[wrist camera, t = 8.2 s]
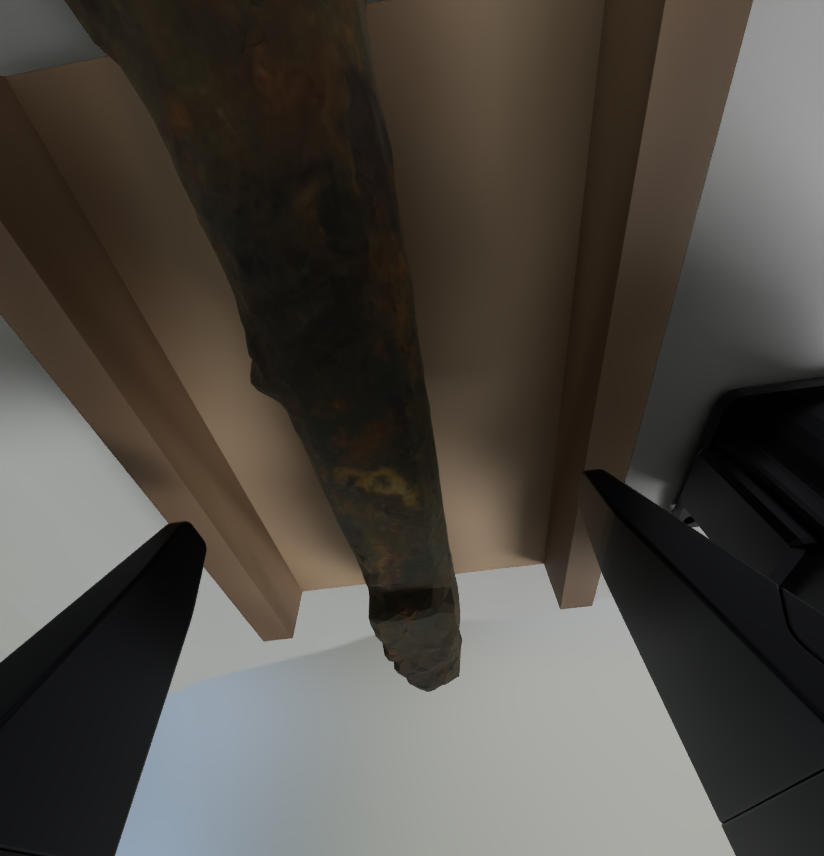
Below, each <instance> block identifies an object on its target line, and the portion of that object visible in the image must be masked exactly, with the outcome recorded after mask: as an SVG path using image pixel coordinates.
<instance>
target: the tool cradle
mask: <svg viewBox="0 0 824 856" xmlns="http://www.w3.org/2000/svg"><path fill="white" fill-rule="evenodd" d="M752 3H753V0H384V1H379V2H374V3H369V4H366V17H367V25H368V33H369V40H370V47H371V53H372V60H373V65H374V71H375V76H376V82H377V87H378V92H379V98H380V102H381V106H382V110H383V114H384V118H385V122H386V126H387V130H388V134H389V139H390V143H391V147H392V152H393V160H394V168H395V186H396V192H397V199H398V205H399V212H400V218H401V223H402V229H403V234H404V246H405V252H406V255H407V259H408V264H409V269H410V273H411V278H412V283H413V290H414V303H415V318H416V325H417V327H418V339H419V345H420V351H421V356H422V361H423V366H424V379H425V385H426V390H427V395H428V399H429V404H430V414H431V422H432V427H433V433H434V440H435V447H436V453H437V460H438V467H439V477H440V485H441V492H442V501H443V507H444V514H445V520H446V526H447V533H448V541H449V548H450V552H451V555H452V562H453V567H454V573H455V574H457V573H465V572H474V571H483V570H491V569H500V568H509V567H518V566H526V565H535V564H544V565H545V568H546V570H547V573H548V576H549V579H550V582H551V584H552V587H553V590H554V593H555V596H556V598H557V601H558V604H559V607H560V609H567V608H576V607H585V606H592V604H593V600H594V596H595V593H596V589H597V585H598V581H599V578H600V574H601V570H600V567H599V565H598V562H597V559H596V556H595V553H594V550H593V548H592V545H591V542H590V539H589V536H588V533H587V530H586V527H585V524H584V521H583V518H582V516H581V513H580V510H579V507H578V502H577V494H578V488H579V482H580V476H581V473H582V472H583V471H585V470H593V469H603V470H605V471H607V472H608V473H610V474H611V475H613V476H614V477H616V478H617V479H619V480H620V481H622V482H623V483H625V480H626V476H627V472H628V469H629V465H630V461H631V457H632V454H633V450H634V446H635V442H636V439H637V435H638V431H639V427H640V424H641V420H642V416H643V412H644V409H645V405H646V401H647V397H648V393H649V390H650V386H651V382H652V378H653V375H654V371H655V367H656V363H657V360H658V356H659V352H660V348H661V345H662V341H663V337H664V333H665V330H666V326H667V322H668V318H669V315H670V311H671V307H672V303H673V299H674V296H675V292H676V288H677V284H678V281H679V277H680V273H681V269H682V266H683V262H684V258H685V254H686V251H687V247H688V243H689V239H690V236H691V232H692V228H693V224H694V221H695V217H696V213H697V209H698V206H699V202H700V198H701V194H702V190H703V187H704V183H705V179H706V175H707V172H708V168H709V164H710V160H711V157H712V153H713V149H714V145H715V142H716V138H717V134H718V130H719V127H720V123H721V119H722V115H723V112H724V108H725V104H726V100H727V97H728V93H729V89H730V85H731V81H732V78H733V74H734V70H735V66H736V63H737V59H738V55H739V51H740V48H741V44H742V40H743V36H744V33H745V29H746V25H747V21H748V18H749V14H750V10H751V6H752ZM0 314H1V316H2V317H3V318H4V319H5V321H6V322H7V323H8V324H9V326H10V327H11V328H12V329H13V331H14V332H15V333H16V334H17V335H18V337H19V338H20V339H21V340H22V342H23V343H24V344H25V345H26V347H27V348H28V349H29V350H30V352H31V353H32V354H33V355H34V357H35V358H36V359H37V360H38V362H39V363H40V364H41V365H42V367H43V368H44V369H45V370H46V372H47V373H48V374H49V375H50V376H51V378H52V379H53V380H54V381H55V383H56V384H57V385H58V386H59V388H60V389H61V390H62V391H63V393H64V394H65V395H66V396H67V398H68V399H69V400H70V401H71V403H72V404H73V405H74V406H75V408H76V409H77V410H78V411H79V412H80V414H81V415H82V416H83V417H84V419H85V420H86V421H87V422H88V424H89V425H90V426H91V427H92V429H93V430H94V431H95V432H96V434H97V435H98V436H99V437H100V439H101V440H102V441H103V442H104V444H105V445H106V446H107V447H108V449H109V450H110V451H111V452H112V453H113V455H114V456H115V457H116V458H117V460H118V461H119V462H120V463H121V465H122V466H123V467H124V468H125V470H126V471H127V472H128V473H129V475H130V476H131V477H132V478H133V480H134V481H135V482H136V483H137V485H138V486H139V487H140V488H141V490H142V491H143V492H144V493H145V494H146V496H147V497H148V498H149V499H150V501H151V502H152V503H153V504H154V506H155V507H156V508H157V509H158V511H159V512H160V513H161V514H162V516H163V517H164V518H165V519H166V521H167V522H168V523H173V522H180V521H188V522H190V523H191V524H192V525H193V526H194V527H195V529H196V530H197V531H198V533H199V534H200V535H201V537H202V538H203V539H204V541H205V543H206V547H207V551H206V557H205V561H204V566H203V567H204V568H205V569H206V570H207V571H208V573H209V574H210V575H211V576H212V578H213V579H214V580H215V581H216V583H217V584H218V585H219V586H220V588H221V589H222V590H223V591H224V593H225V594H226V595H227V596H228V598H229V599H230V600H231V601H232V603H233V604H234V605H235V606H236V608H237V609H238V610H239V611H240V612H241V614H242V615H243V616H244V617H245V619H246V620H247V621H248V622H249V624H250V625H251V626H252V627H253V629H254V630H255V631H256V632H257V634H258V635H259V636H260V637H261V639H262V640H263V641H270V640H279V639H288V638H293V634H294V629H295V624H296V619H297V615H298V610H299V605H300V600H301V595H302V591H308V590H317V589H326V588H334V587H343V586H352V585H361V584H366V583H365V581H364V578H363V574H362V571H361V569H360V566H359V564H358V561H357V559H356V557H355V555H354V553H353V551H352V549H351V547H350V545H349V543H348V541H347V540H346V538H345V536H344V534H343V532H342V530H341V528H340V526H339V524H338V522H337V519H336V517H335V515H334V512H333V510H332V508H331V505H330V503H329V501H328V499H327V497H326V496H325V494H324V492H323V489H322V487H321V485H320V483H319V480H318V478H317V476H316V474H315V471H314V469H313V467H312V464H311V462H310V459H309V457H308V455H307V453H306V451H305V449H304V447H303V444H302V442H301V440H300V438H299V436H298V435H297V433H296V431H295V430H294V427H293V425H292V422H291V420H290V418H289V415H288V413H287V411H286V410H285V408H284V407H283V406H282V405H281V404H280V403H279V402H277V401H276V400H274V399H272V398H271V397H269V396H267V395H265V394H263V393H261V392H259V391H258V390H257V389H256V388H255V387H254V386H253V385H252V384H251V380H250V371H251V363H252V359H251V358H250V356H249V354H248V349H247V344H246V337H245V331H244V327H243V325H242V322H241V320H240V316H239V312H238V308H237V303H236V299H235V296H234V294H233V291H232V289H231V286H230V284H229V282H228V279H227V277H226V275H225V273H224V271H223V268H222V266H221V264H220V262H219V260H218V257H217V255H216V253H215V251H214V249H213V247H212V245H211V243H210V242H209V240H208V238H207V236H206V234H205V232H204V230H203V229H202V227H201V225H200V223H199V221H198V218H197V215H196V212H195V209H194V207H193V205H192V203H191V201H190V199H189V197H188V195H187V193H186V191H185V189H184V187H183V185H182V183H181V181H180V178H179V176H178V174H177V172H176V169H175V167H174V164H173V162H172V159H171V157H170V154H169V152H168V150H167V148H166V146H165V144H164V142H163V140H162V137H161V135H160V133H159V131H158V129H157V127H156V125H155V122H154V120H153V118H152V117H151V115H150V113H149V112H148V110H147V108H146V107H145V105H144V104H143V102H142V100H141V99H140V97H139V96H138V94H137V92H136V91H135V89H134V88H133V86H132V85H131V83H130V81H129V80H128V78H127V77H126V75H125V73H124V72H123V70H122V69H121V67H120V66H119V65H118V64H117V63H116V62H115V61H114V60H113V59H112V58H110V57H109V56H105V57H100V58H95V59H90V60H85V61H81V62H76V63H71V64H66V65H61V66H56V67H51V68H46V69H41V70H36V71H31V72H26V73H21V74H16V75H11V76H6V77H4V76H0Z"/></svg>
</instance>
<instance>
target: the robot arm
mask: <svg viewBox="0 0 824 856" xmlns="http://www.w3.org/2000/svg"><path fill="white" fill-rule="evenodd" d="M577 502H578V507H579V510H580V513H581V516H582V518H583V521H584V524H585V527H586V530H587V533H588V536H589V539H590V542H591V545H592V548H593V550H594V553H595V556H596V559H597V562H598V565H599V567H600V570H601V572H602V574H603V577H604V579H605V581H606V583H607V585H608V587H609V590H610V592H611V594H612V596H613V598H614V600H615V602H616V604H617V606H618V608H619V611H620V613H621V615H622V617H623V619H624V621H625V623H626V625H627V627H628V629H629V631H630V634H631V636H632V638H633V640H634V642H635V644H636V646H637V648H638V650H639V652H640V655H641V657H642V659H643V661H644V663H645V665H646V667H647V669H648V671H649V674H650V676H651V678H652V680H653V682H654V684H655V686H656V688H657V690H658V692H659V695H660V696H661V699H662V701H663V703H664V705H665V707H666V709H667V711H668V714H669V715H670V717H671V719H672V722H673V724H674V726H675V728H676V730H677V732H678V734H679V737H680V739H681V741H682V743H683V745H684V747H685V749H686V751H687V753H688V756H689V758H690V760H691V762H692V764H693V766H694V768H695V770H696V772H697V774H698V777H699V779H700V780H701V783H702V785H703V787H704V789H705V791H706V793H707V795H708V797H709V800H710V801H711V804H712V806H713V808H714V810H715V812H716V814H717V816H718V818H719V820H720V822H721V823H722V828H723V829H724V832H725V834H726V836H727V838H728V840H729V842H730V844H731V846H732V848H733V851H734V853H735V855H736V856H824V377H823V378H816V379H808V380H801V381H794V382H786V383H779V384H772V385H764V386H757V387H749V388H742V389H736V390H732V391H729V392H727V393H726V394H724V395H723V396H721V397H720V398H719V399H718V401H717V402H716V404H715V406H714V409H713V411H712V414H711V416H710V419H709V421H708V424H707V427H706V429H705V432H704V434H703V437H702V439H701V442H700V444H699V447H698V449H697V452H696V454H695V457H694V459H693V462H692V464H691V467H690V469H689V472H688V474H687V477H686V479H685V482H684V485H683V487H682V490H681V492H680V495H679V497H678V500H677V502H676V505H675V507H674V510H673V512H672V514H670V513H669V512H667V511H666V510H664V509H663V508H661V507H660V506H658V505H657V504H655V503H654V502H652V501H651V500H649V499H648V498H646V497H644V496H643V495H641V494H640V493H638V492H637V491H635V490H634V489H632V488H631V487H629V486H628V485H626V484H625V483H623V482H622V481H620V480H619V479H617V478H616V477H614V476H613V475H611V474H610V473H608V472H607V471H605V470H603V469H593V470H585V471H583V472H582V473H581V476H580V482H579V488H578V494H577ZM698 526H700V528H701V529H702V530H703V531H704V533H705V534H706V535H707V536H708V538H709V539H708V538H707V537H705V536H704V535H702V534H701V533H699V532H698V531H696V530H695V529H693V528H692V527H698ZM206 551H207V547H206V543H205V541H204V539H203V538H202V537H201V535H200V534H199V533H198V531H197V530H196V529H195V527H194V526H193V525H192V524H191V523H190V522H188V521H180V522H173V523H169V524H168V525H166V526H165V527H164V528H162V529H161V530H160V531H159V532H158V533H156V534H155V535H154V536H153V537H152V538H150V539H149V540H148V541H147V542H146V543H144V544H143V545H142V546H141V547H140V548H138V549H137V550H136V551H135V552H133V553H132V554H131V555H130V556H129V557H127V558H126V559H125V560H124V561H123V562H121V563H120V564H119V565H118V566H117V567H115V568H114V569H113V570H112V571H111V572H109V573H108V574H107V575H106V576H104V577H103V578H102V579H101V580H100V581H98V582H97V583H96V584H95V585H94V586H92V587H91V588H90V589H89V590H88V591H86V592H85V593H84V594H83V595H82V596H80V597H79V598H78V599H77V600H75V601H74V602H73V603H72V604H71V605H69V606H68V607H67V608H66V609H65V610H63V611H62V612H61V613H60V614H59V615H57V616H56V617H55V618H54V619H53V620H51V621H50V622H49V623H48V624H46V625H45V626H44V627H43V628H42V629H40V630H39V631H38V632H37V633H36V634H34V635H33V636H32V637H31V638H30V639H28V640H27V641H26V642H25V643H24V644H22V645H21V646H20V647H19V648H17V649H16V650H15V651H14V652H13V653H11V654H10V655H9V656H8V657H7V658H5V659H4V660H3V661H2V662H1V663H0V856H115V854H116V850H117V847H118V844H119V841H120V838H121V835H122V832H123V829H124V826H125V823H126V820H127V817H128V813H129V810H130V807H131V804H132V801H133V798H134V795H135V792H136V789H137V785H138V782H139V780H140V776H141V773H142V770H143V767H144V764H145V761H146V758H147V755H148V752H149V749H150V746H151V742H152V739H153V736H154V733H155V730H156V727H157V724H158V721H159V718H160V715H161V711H162V709H163V705H164V702H165V699H166V696H167V693H168V690H169V687H170V684H171V681H172V678H173V675H174V672H175V668H176V665H177V662H178V659H179V656H180V653H181V650H182V647H183V644H184V641H185V638H186V635H187V631H188V628H189V625H190V622H191V618H192V615H193V611H194V607H195V603H196V598H197V593H198V589H199V584H200V580H201V575H202V570H203V566H204V561H205V557H206Z"/></svg>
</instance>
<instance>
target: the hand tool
mask: <svg viewBox="0 0 824 856" xmlns="http://www.w3.org/2000/svg"><path fill="white" fill-rule="evenodd" d="M65 1H66V3H67V4H68V6H69V7H70V9H71V10H72V11H73V13H74V14H75V16H76V17H77V19H78V20H79V22H80V23H81V24H82V26H83V27H84V29H85V30H86V32H87V33H88V34H89V36H90V37H91V39H92V40H93V42H94V43H95V44H96V45H97V46H99V47H100V48H101V49H102V50H103V51H104V52H105V53H106V54H107V55H108V56H109V57H110V58H112V59H113V60H114V61H115V62H116V63H117V64H118V65H119V66H120V67H121V69H122V70H123V72H124V73H125V75H126V77H127V78H128V80H129V81H130V83H131V85H132V86H133V88H134V89H135V91H136V92H137V94H138V96H139V97H140V99H141V100H142V102H143V104H144V105H145V107H146V108H147V110H148V112H149V113H150V115H151V117H152V118H153V120H154V122H155V125H156V127H157V129H158V131H159V133H160V135H161V137H162V140H163V142H164V144H165V146H166V148H167V150H168V152H169V154H170V157H171V159H172V162H173V164H174V167H175V169H176V172H177V174H178V176H179V178H180V181H181V183H182V185H183V187H184V189H185V191H186V193H187V195H188V197H189V199H190V201H191V203H192V205H193V207H194V209H195V212H196V215H197V218H198V221H199V223H200V225H201V227H202V229H203V230H204V232H205V234H206V236H207V238H208V240H209V242H210V243H211V245H212V247H213V249H214V251H215V253H216V255H217V257H218V260H219V262H220V264H221V266H222V268H223V271H224V273H225V275H226V277H227V279H228V282H229V284H230V286H231V289H232V291H233V294H234V296H235V299H236V303H237V308H238V312H239V316H240V320H241V322H242V325H243V327H244V331H245V337H246V344H247V349H248V354H249V356H250V358H251V359H252V363H251V371H250V380H251V384H252V385H253V386H254V387H255V388H256V389H257V390H258V391H259V392H261V393H263V394H265V395H267V396H269V397H271V398H272V399H274V400H276V401H277V402H279V403H280V404H281V405H282V406H283V407H284V408H285V410H286V411H287V413H288V415H289V418H290V420H291V422H292V425H293V427H294V430H295V431H296V433H297V435H298V436H299V438H300V440H301V442H302V444H303V447H304V449H305V451H306V453H307V455H308V457H309V459H310V462H311V464H312V467H313V469H314V471H315V474H316V476H317V478H318V480H319V483H320V485H321V487H322V489H323V492H324V494H325V496H326V497H327V499H328V501H329V503H330V505H331V508H332V510H333V512H334V515H335V517H336V519H337V522H338V524H339V526H340V528H341V530H342V532H343V534H344V536H345V538H346V540H347V541H348V543H349V545H350V547H351V549H352V551H353V553H354V555H355V557H356V559H357V561H358V564H359V566H360V569H361V571H362V574H363V578H364V581H365V583H366V584H367V586H368V589H369V597H370V598H369V620H370V624H371V626H372V628H373V630H374V632H375V635H376V637H377V638H379V640H380V641H382V643H383V648H384V654H385V656H386V657H387V659H388V660H389V661H393V662H394V669H395V670H396V671H397V672H398V673H399V674H401V675H402V676H404V677H406V678H407V680H408V682H409V683H410V684H411V685H413V686H415V687H417V688H419V689H422V690H425V691H427V692H428V691H432V690H435V689H436V688H438V687H439V686H441V685H445V684H447V683H449V682H450V681H452V680H453V679H455V678H456V677H459V671H460V651H461V644H462V638H461V635H460V631H459V624H460V605H459V594H458V587H457V582H456V578H455V573H454V567H453V562H452V555H451V552H450V548H449V541H448V533H447V526H446V520H445V514H444V507H443V501H442V492H441V485H440V477H439V467H438V460H437V453H436V447H435V440H434V433H433V427H432V422H431V414H430V404H429V399H428V395H427V390H426V385H425V379H424V366H423V361H422V356H421V351H420V345H419V339H418V327H417V325H416V318H415V303H414V290H413V283H412V278H411V273H410V269H409V264H408V259H407V255H406V252H405V246H404V234H403V229H402V223H401V218H400V212H399V205H398V199H397V192H396V186H395V168H394V160H393V152H392V147H391V143H390V139H389V134H388V130H387V126H386V122H385V118H384V114H383V110H382V106H381V102H380V98H379V92H378V87H377V82H376V76H375V71H374V65H373V60H372V53H371V47H370V40H369V33H368V25H367V17H366V0H65Z"/></svg>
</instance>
